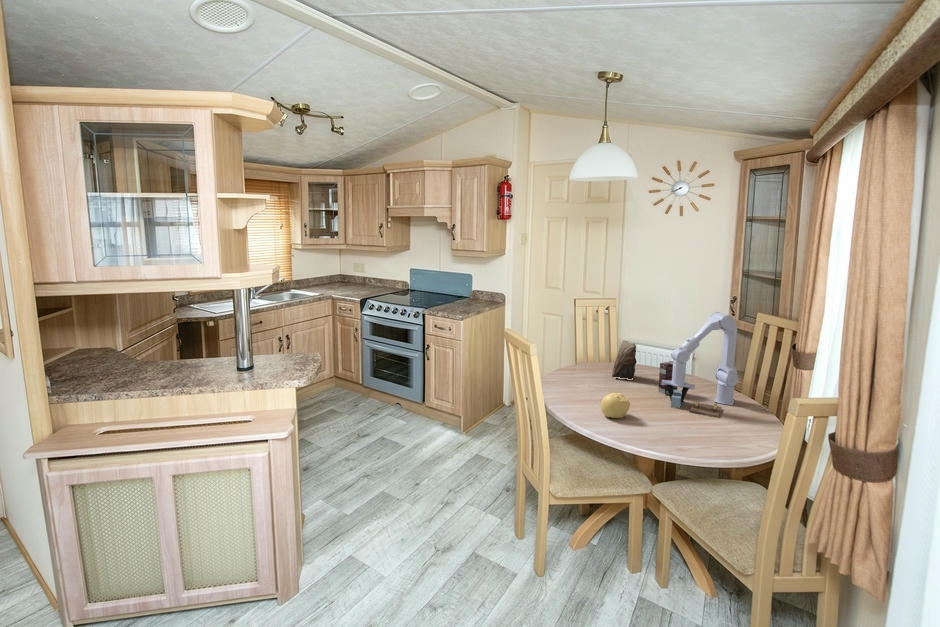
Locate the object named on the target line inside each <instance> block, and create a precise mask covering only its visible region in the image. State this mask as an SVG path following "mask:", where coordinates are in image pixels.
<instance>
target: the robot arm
mask: <svg viewBox="0 0 940 627" xmlns="http://www.w3.org/2000/svg"><path fill="white" fill-rule="evenodd" d="M719 330H721V331H722V332H723V342H722V352H721V362H720V364H719V365H718V366H717V369H716V371H715V373H714V377H715V379H716V380H717V385H716V397H715V399H714V401H713V402H714V403H715V402H717V403H716V404H722V405H729V406H733V405H734V402H735V399H736V398H734V394H735V393H734V392H735V387H736V385H737V384H738V382H739V376H738V370H737V369H736V367H735V357H736V349H737V348H736V346H737V339H738V326H737V324H736V319H735V318H734V317H733V316H731V315H728V314H724V313H721V312H719V311H715V312H713V313H711V315H710V316H709V317H707V319H706V322H705V323H704V324H703V325H702V326H701V327H700V329H699V330H698V331H697V332H696V333H695V335H693V336H689V337H687V338H686V339H685V341H684V342H683V343H682V344H681V345H680V346H679V347H678V348H675V349H674V350H673V351H672V353H671V354H670V356H671V358H672V361H673V372H672V381H670V380H662V385H667V390H668V392H669V399H670V402H671V397H672V395H673V389H674V386H676V387H677V388H682V389H681V391H682V398H681V403H682V404H683V403H684V400H685V397H686V395H687V394H688V391H689V390H693V391H694V390H695V389H696V388H695V387H696V385H695V384H692V383H688V382H686V370H687V362H688V361H689V360H690V358H691V354H693V353H694V351H695V350H697V349H698V348H699V347H700V342H701V341H702V340H703V339H704V338H706V337H707V336H708V335H709V334H710V333H712V331H719Z"/></svg>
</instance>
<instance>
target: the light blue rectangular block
mask: <svg viewBox="0 0 940 627" xmlns="http://www.w3.org/2000/svg"><path fill="white" fill-rule="evenodd" d="M681 398H682V390H678V389H677V390H674V392H673V395H672V397H671V401H670V408H673V407H676V408H675V409H679V408H680V409H681V407H682V404H681ZM680 406H681V407H680Z"/></svg>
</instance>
